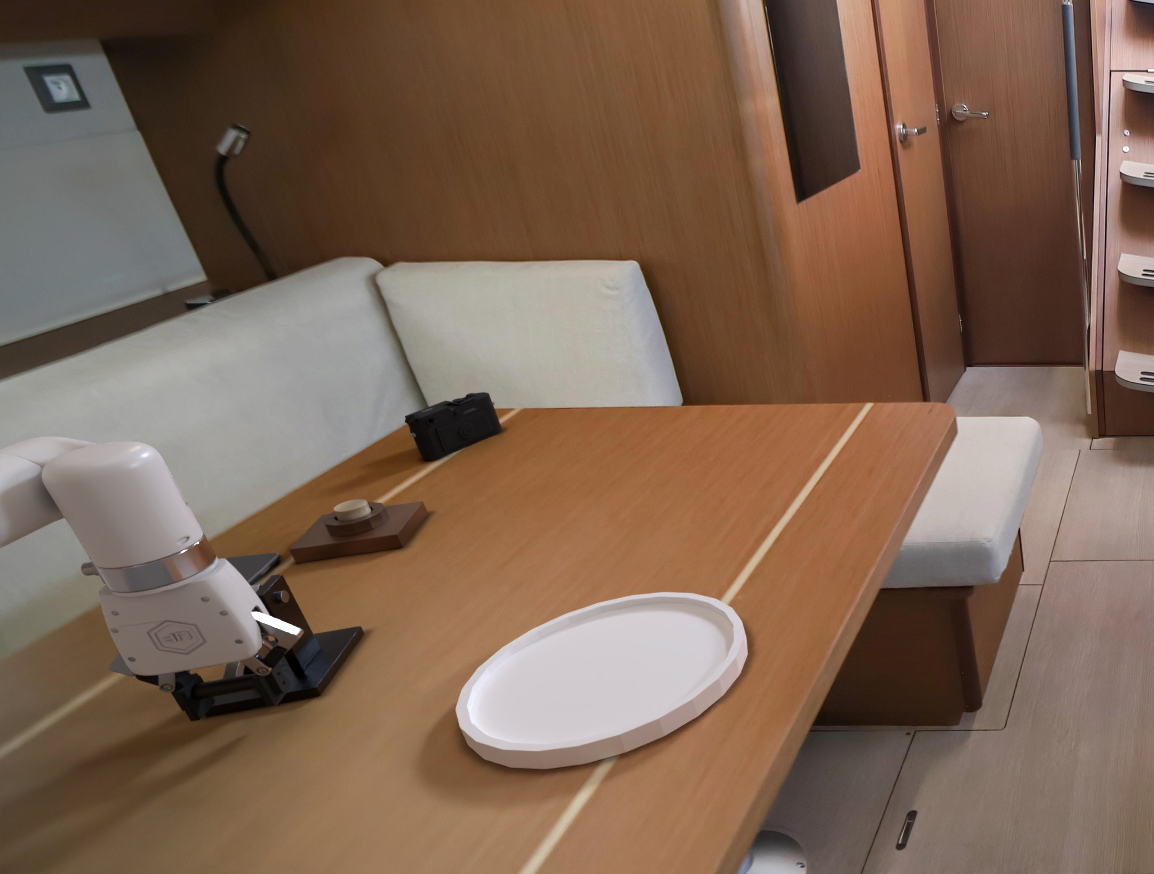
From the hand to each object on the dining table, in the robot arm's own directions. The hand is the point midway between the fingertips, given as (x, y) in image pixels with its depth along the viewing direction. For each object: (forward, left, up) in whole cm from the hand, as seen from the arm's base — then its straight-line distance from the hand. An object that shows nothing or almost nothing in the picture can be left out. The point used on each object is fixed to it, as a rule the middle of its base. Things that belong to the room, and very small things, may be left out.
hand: (241, 703), depth 102 cm
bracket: (0, +9, -2) cm, 9 cm away
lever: (0, +5, +4) cm, 7 cm away
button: (-4, +42, +1) cm, 42 cm away
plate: (+35, -5, -3) cm, 36 cm away
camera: (-2, +74, -3) cm, 74 cm away
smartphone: (-16, +32, -2) cm, 36 cm away
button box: (-4, +42, -2) cm, 42 cm away
